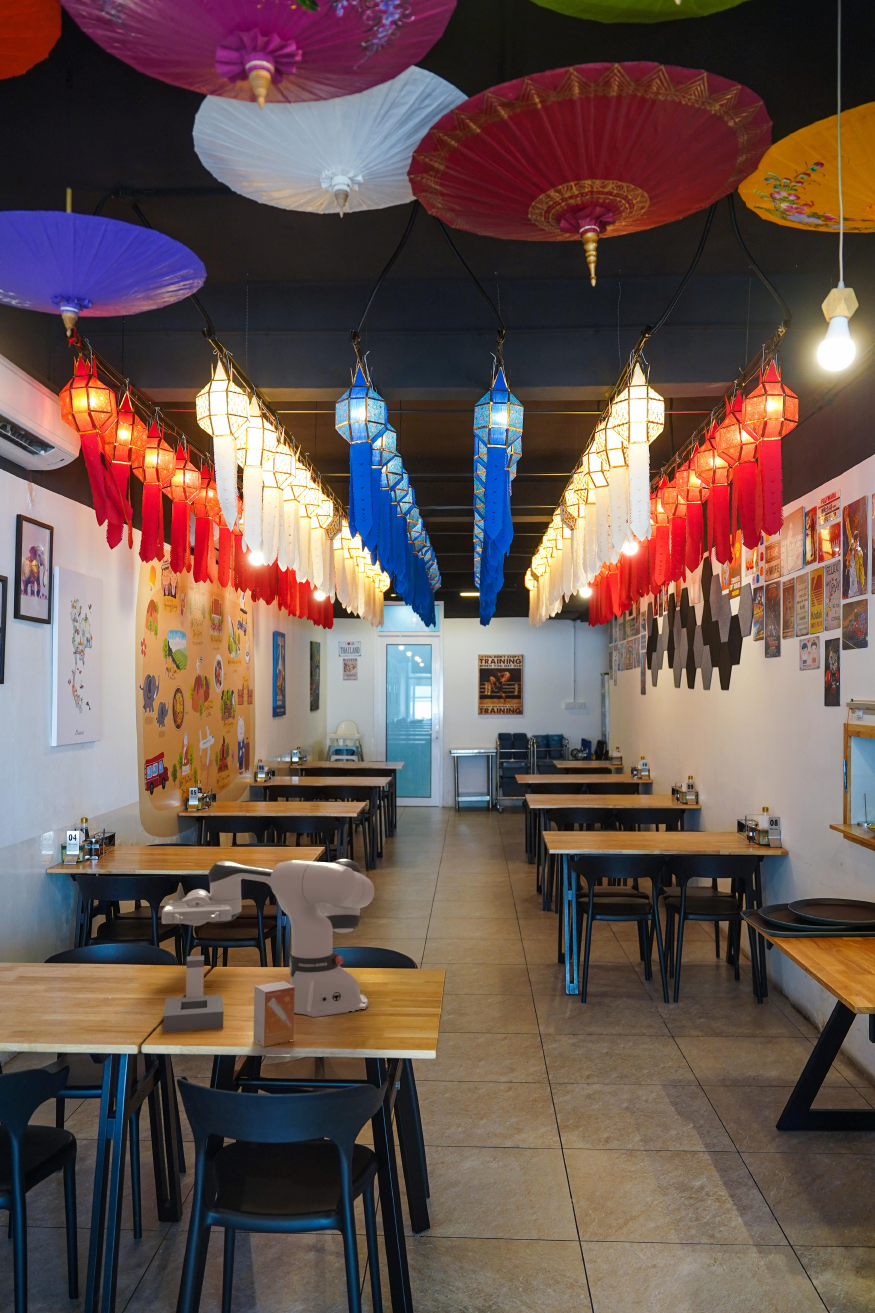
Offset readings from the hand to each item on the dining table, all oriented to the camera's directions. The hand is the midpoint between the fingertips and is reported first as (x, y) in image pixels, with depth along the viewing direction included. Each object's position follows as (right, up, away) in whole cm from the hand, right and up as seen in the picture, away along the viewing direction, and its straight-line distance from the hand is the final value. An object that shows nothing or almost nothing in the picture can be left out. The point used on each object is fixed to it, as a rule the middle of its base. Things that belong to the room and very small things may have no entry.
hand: (196, 919), depth 259 cm
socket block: (+7, -18, -29) cm, 35 cm away
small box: (+31, -17, -43) cm, 56 cm away
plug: (+3, -19, -13) cm, 23 cm away
